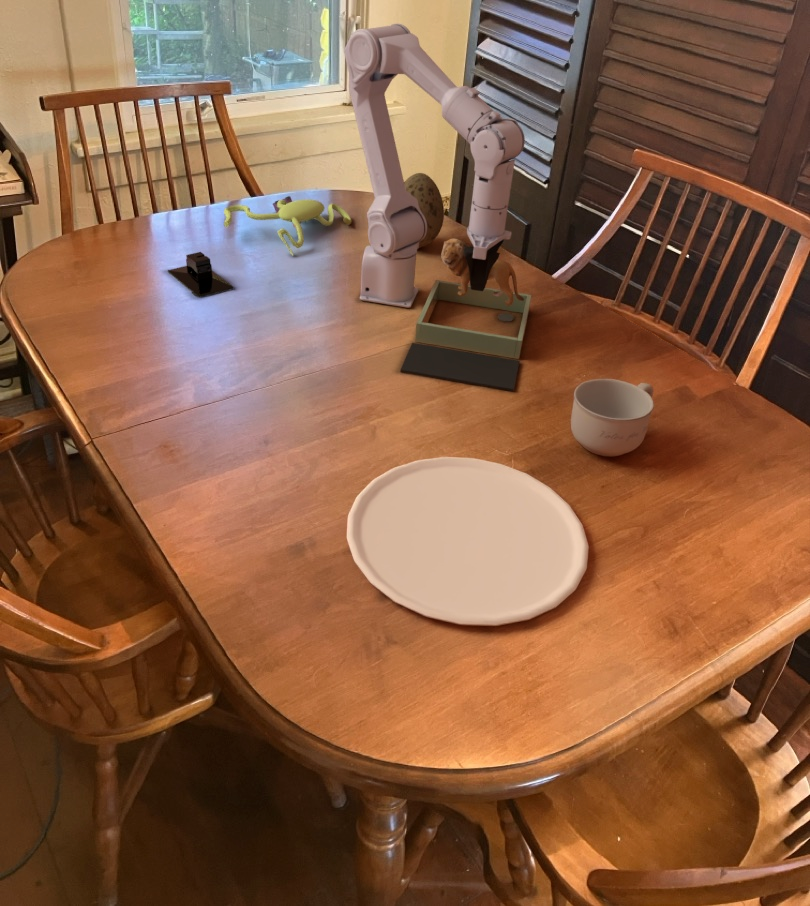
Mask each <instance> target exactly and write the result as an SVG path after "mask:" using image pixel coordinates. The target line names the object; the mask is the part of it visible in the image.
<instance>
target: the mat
mask: <svg viewBox="0 0 810 906" xmlns="http://www.w3.org/2000/svg"><path fill="white" fill-rule="evenodd" d="M520 361H521V360H519V359H513V358H507V357H501V356H495V355H489V354H483V353H478V352H472V351H466V350H460V349H454V348H448V347H442V346H436V345H430V344H424V343H418V342H412V343H411V345H410V347H409V349H408V351H407V354H406V356H405V358H404V360H403V362H402V365H401V367H400V369H399V370H400V371H399V372H400V373H404V374H408V375H409V374H410V375H415V376H421V377H426V378H433V379H436V380H437V379H438V380H443V381H449V382H455V383H462V384H466V385H472V386H477V387H484V388H490V389H496V390H500V391H501V390H502V391H507V392H512V393H513V392H515V386H516V381H517V377H518V373H519V367H520Z"/></svg>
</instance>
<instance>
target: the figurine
mask: <svg viewBox="0 0 810 906" xmlns="http://www.w3.org/2000/svg"><path fill="white" fill-rule="evenodd" d="M272 207H273V208H274V211H275V212H274V213H273V212H272V213H254V212H252V211H251V209H250V207H249V206H247V205H244V204H235V205H230V206H227V207H225V208H224V209H223V214H224V216H225V219H224V220H223V221H224V222H223V226H224V227H225V228H228V227H229V226H230V224H231V223H232V221H233V216H232V213H234V212H245V213H244V214H245V215H246V216H247V217H248V218H249V219H252V220H256V221H269V220H280V219H281V220H282V221H285V222H290V223H292V226H293V228H295V229H296V233H297V237H298V239H297V240H298V241H296V240H295V239H294V238H293V237H292V235H291V234H290V232H289V230H286V229H285V228H280V229H279V230H277V235H278V237H279V239H280V240H281V241H282V243H283V244H284V245H285V246H286V248H287V249H288V251H289V253H290V255H291V256H294V252H293V250H292V248H291V246H290V245H289V244H288V242H287V240H286V239H285V237H284V235H285V236H287V238H288V240H289V241H290V243H291V244H292V246H293V247H295V248H297V249H300V248H301V247H303V246H304V242H305V237H304V231H303V227H302V226H301V224H302V222H304V223H305V224H306V223H307V222H308V221H312V220H313V219H314V220H316V221H318V222H319V223H320V224H321V225H323V226H326V227H329V226H331V225H332V224H333V223H334V218H335V216H334V215H335V214H334V211H336V212H337V213H339V215H340V216H341V217H343V219H342V222H343V223H344V224H345V225H347V226H349V225H351V224H352V218H351V217H350V215H349V214H348V213H347V211H345V210H344V209H343V207H341V206H340V205H338V204H336V203H330V204H329V205H328V207H327V213H328V220H327V219H325V217H323V216H322V213H324V211H325V205H324V204H323V203H322V202H321V201H319V200H316V199H310V198H309V199H306V198H305V199H298V200H293V199H292V197H291V196H290V195H288V196H286V197H284V198H282V199H280V200H279V199H278V200H276V201H274V202H273V203H272Z"/></svg>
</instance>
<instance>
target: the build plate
mask: <svg viewBox="0 0 810 906" xmlns="http://www.w3.org/2000/svg"><path fill="white" fill-rule="evenodd" d="M185 262H186V263H185V264H186V265H184V266H180V267H176V268H171V269H167V273H168V274H169V275H170V276H172V277H173V278H174V279H175V280H177V281H178V282H179V283H180V284H182V285H183V286H184V287H185V288H186V289H187V290H189V291H190V292H191V294H192V295H193V296H194V297H196V298H204V297H207V296H212V295H216V294H220V293H223V292H227V291H230V290H234V289H235V286H234V285H232V284H231V283H230V282H229V281H227V280H226V279H224V278H223V277H221V276H220V275H219V274H218V273H217V272H215V271H214V270H213V268H212V267H213V265H212V262H211V258H210V257H208V256H207V255H205V254H204V253H203V252H201V251H197V252H193V253H190V254H186V259H185Z"/></svg>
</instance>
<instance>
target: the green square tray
mask: <svg viewBox="0 0 810 906" xmlns="http://www.w3.org/2000/svg"><path fill="white" fill-rule="evenodd" d="M460 285H462V283H459V282H453V281H446V280H441V279H435V281H434V283H433V285H432V287H431V290H430V292H429V294H428V297H427V298H426V301H425V303H424V305H423V307H422V309H421V311H420V314H419V317H418V319H417V321H416V323H415V334H414V343H419V344H424V345H430V346H436V347H442V348H448V349H454V350H460V351H466V352H472V353H478V354H484V355H490V356H496V357H501V358H507V359H514V360H519V359H520V356H521V352H522V346H523V342H524V338H525V334H526V333H525V332H526V327H527V323H528V317H529V314H530V308H531V302H532V297H533V295H532V294H530V293H529V294H528V293H522V292H518V294H519V295H520V296H521V297H523V298H524V301H520V300H518V299H517V297H516V295H515V292H514V291H513V303H512V305H511V306H506V305H505V303H504V301H506V300H508V299H509V298H508V296H507V295H506V294H505V293H503V294H502V295H501V296H498V297H497V296H494V295H493V293H494V292H498V291H499V290H500V289H497V288H491V287H485V288H484V291H477V290H471V287H470V284H468V291H467V293H466V295H465V296H460V295H458V292H459V291H462V290H459V289H458V287H459V286H460ZM438 300H439V301H443V302H444V301H445V302H451V303H457V304H465V305H468V306H469V305H470V306H476V307H482V308H489V309H495V310H501V311H506V312H507V311H508V312H514V313H519V314H522V318H521V321H520V326H519V331H518V336H517V337H515V336H508V335H502V334H496V333H489V332H484V331H478V330H472V329H465V328H460V327H453V326H447V325H442V324H436V323H431V322H429V320H430V318H431V317H432V314H433V311H434V309H435V306H436V304H437V301H438ZM497 319H498V320H499V321H501V322H503V323H511V322H513V321H514V319H515V317H514V316H513V315H512V314H510V313H500V314H498V315H497Z"/></svg>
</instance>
